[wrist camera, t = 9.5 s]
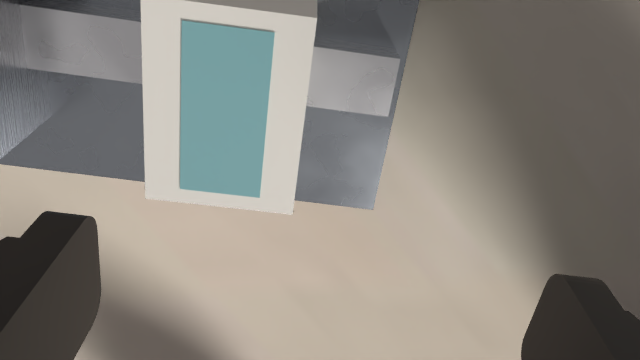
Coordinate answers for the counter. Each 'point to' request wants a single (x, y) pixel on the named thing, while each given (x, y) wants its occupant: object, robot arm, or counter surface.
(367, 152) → the rail plate
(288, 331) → the counter surface
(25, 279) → the robot arm
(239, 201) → the block
